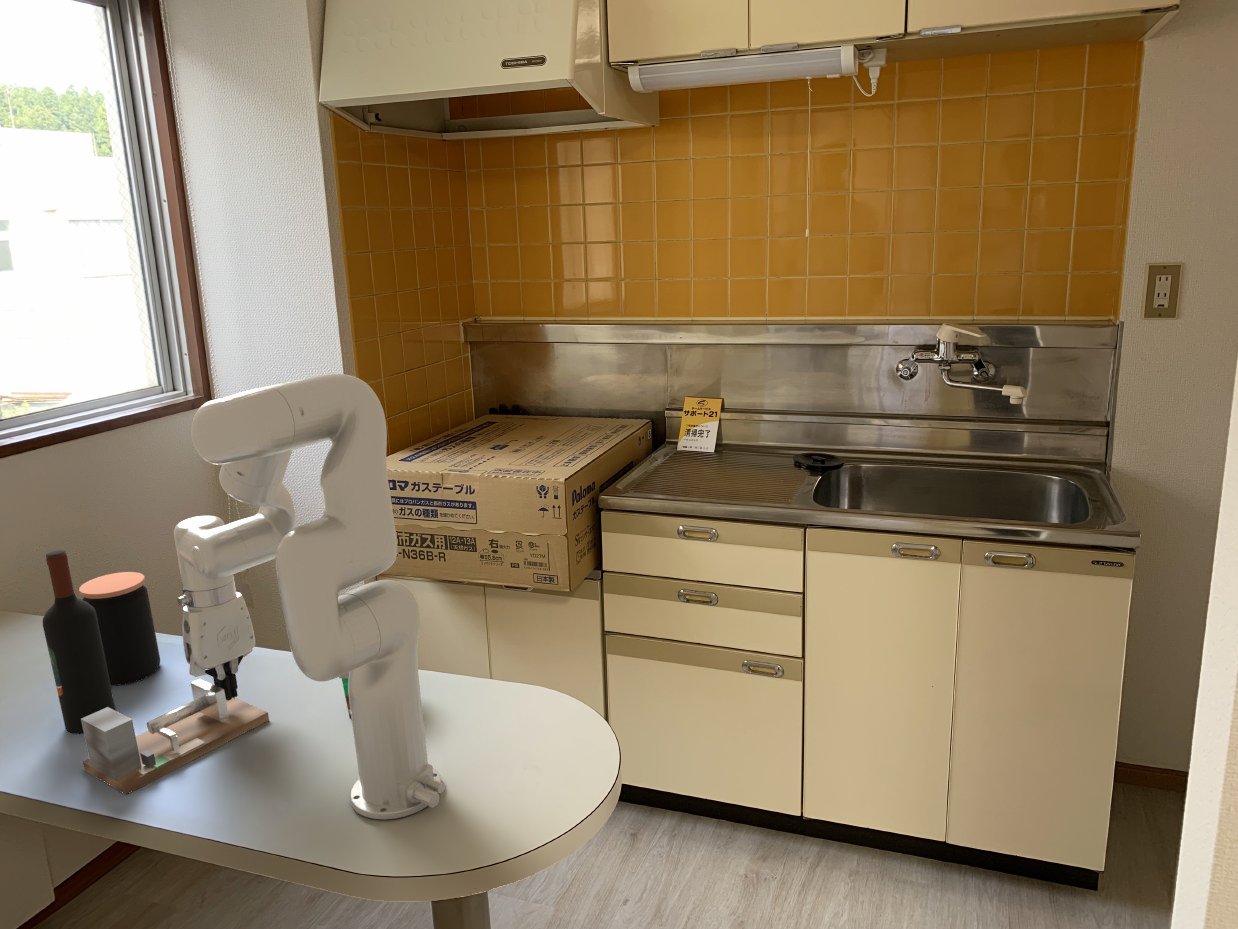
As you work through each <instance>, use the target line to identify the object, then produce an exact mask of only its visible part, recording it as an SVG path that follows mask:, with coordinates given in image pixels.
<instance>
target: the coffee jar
mask: <svg viewBox="0 0 1238 929" xmlns="http://www.w3.org/2000/svg"><path fill="white" fill-rule="evenodd" d="M145 583H146V576H145V575H144V574H143V573H142V572H135V571H122V572H121V571H120V572H116V573H114V572H113V573H109V574H104V575H101V576H97V577H95V578H92V579H90V580H88V581H85V582H84V583H82V584H81V585H80V587H78V588H79V589H78V593H79V595H80V596H81V597H82V599H81V600H83V601H86V602H88V603H89V604H90V605H91V606H92V607H94V609H95V611H96V616H97V621H98V626H99V630H100V635H101V640H102V645H103V650H104V655H105V660H106V665H107V670H108V675H109V680H110V684H111V686H124V685H129V684H134V683H137V682H139V681H143V680H145V679H146V678H148V677H151V676H152V675H153V674H154V673H155V672H156V671H157V670H158V669H159V666H160V663H161V657H160V656H161V655H160V650H159V646H158V640H157V635H156V629H155V624H154V617H153V613H152V609H151V603H150V597H149V591H148V588H147V587H146V586H145Z"/></svg>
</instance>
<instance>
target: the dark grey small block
mask: <svg viewBox="0 0 1238 929" xmlns="http://www.w3.org/2000/svg"><path fill="white" fill-rule="evenodd" d="M140 754H141V759H142V764H144V765H146V766H147V767H149V768H150V767H152V766H154V765H156V762H155V756H154V753H152V752H150V751H148V750H145V751H143V752H141V753H140Z"/></svg>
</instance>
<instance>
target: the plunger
mask: <svg viewBox="0 0 1238 929" xmlns="http://www.w3.org/2000/svg"><path fill="white" fill-rule="evenodd" d="M190 686H191V692H192V697H193V700H192V701H190V702H188V703H186V704H183V705H181V706H178V707H177V708H174V709H172V710H171V711H168V712H166V713H164V714H162V715H159V716H158V717H156V718H154V719H151V720H149V721H147V723H146V727H147V731H148V730H149V732H150V733H151V734H154V733H158V734H160V735H162V736H164V737H166V738H168V739H170V744H171V749H172V750H173V751H176V750H178V749H179V744H178V739H177V736H176V733H174V732H172V731H170V730H168V729H166V727H168V726H171V725H173V724H175V723H177V722H179V721H181V720H183V719H185V718H187V717H189V716H191V715H193V714H196V713H198V712H201V713H203V714H205V715H207V716H209V717H212V718H214V719H216V720H218V721H222V720H224V719H226V718H228V717H229V716H228V710H227V704H226V698H225V692H224V689H222V688H220V687H217V686H215V685H214V684H212V683H210V682H208V681H205V680H203V679H201V678H198V679H195V680H193V681H191V682H190Z"/></svg>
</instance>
